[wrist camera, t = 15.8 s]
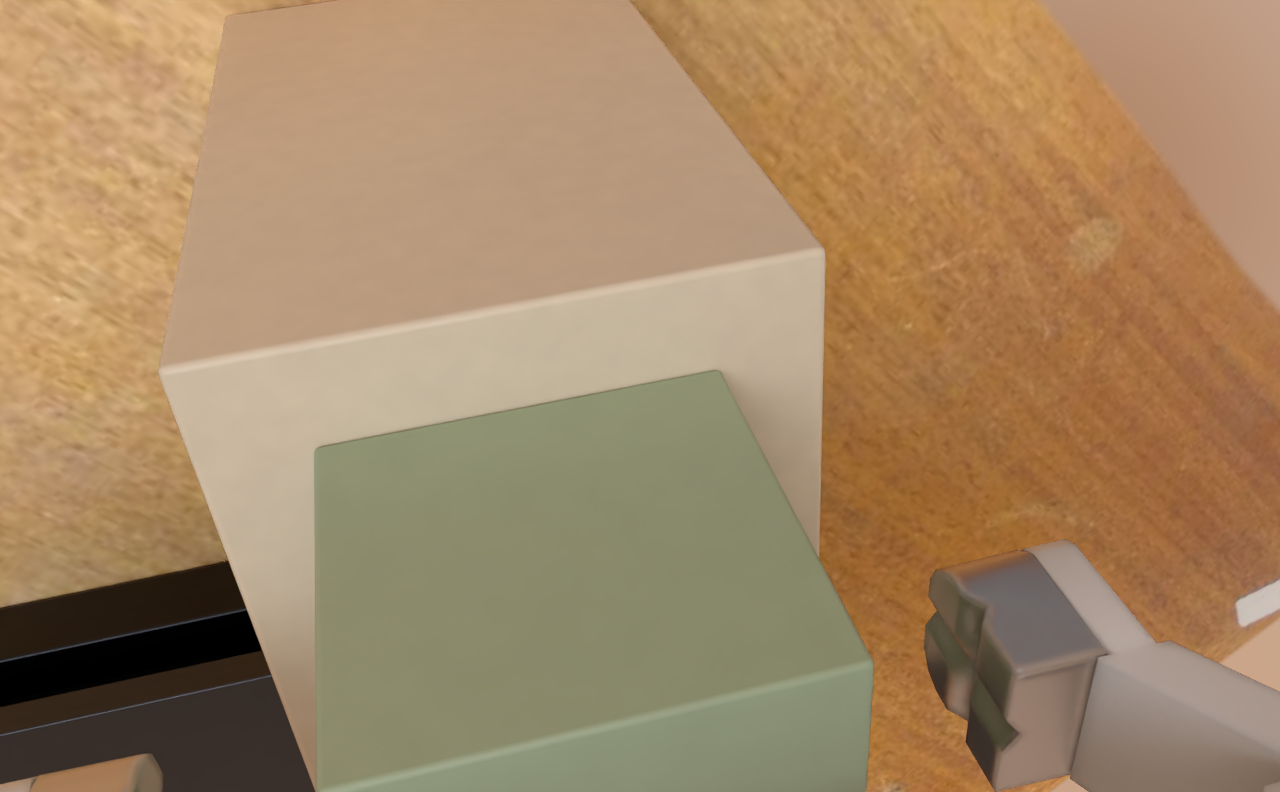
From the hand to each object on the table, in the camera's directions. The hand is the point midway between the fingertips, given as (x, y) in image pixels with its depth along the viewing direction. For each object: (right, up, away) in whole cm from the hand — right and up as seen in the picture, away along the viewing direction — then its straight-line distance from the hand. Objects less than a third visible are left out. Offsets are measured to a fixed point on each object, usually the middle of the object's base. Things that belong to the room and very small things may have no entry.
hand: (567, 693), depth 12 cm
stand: (-3, +8, +11) cm, 14 cm away
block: (0, +1, +2) cm, 2 cm away
